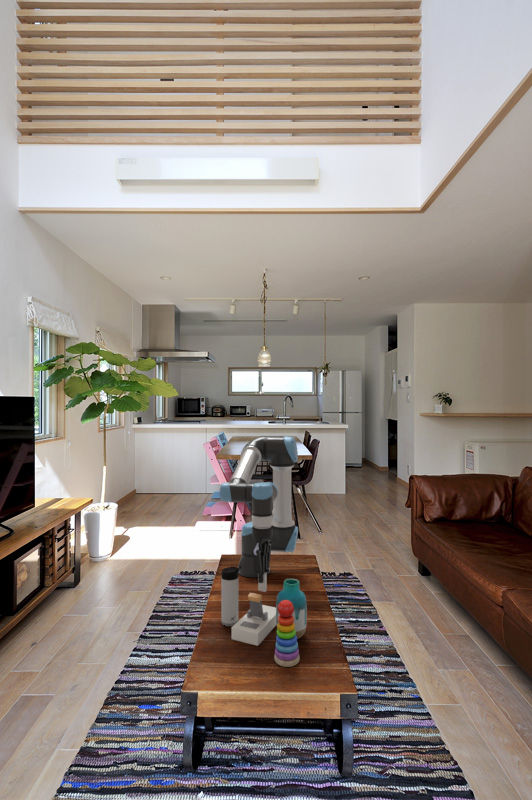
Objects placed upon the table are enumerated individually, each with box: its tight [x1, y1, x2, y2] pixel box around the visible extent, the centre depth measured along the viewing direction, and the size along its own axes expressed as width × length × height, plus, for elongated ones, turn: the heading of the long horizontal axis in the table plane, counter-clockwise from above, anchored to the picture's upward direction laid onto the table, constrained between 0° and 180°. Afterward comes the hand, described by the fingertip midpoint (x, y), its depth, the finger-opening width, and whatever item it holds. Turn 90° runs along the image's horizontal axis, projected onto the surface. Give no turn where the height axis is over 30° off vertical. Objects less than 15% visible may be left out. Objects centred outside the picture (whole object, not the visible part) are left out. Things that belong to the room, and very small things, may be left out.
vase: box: [275, 578, 308, 640], centre depth 157 cm, size 11×11×19 cm
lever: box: [247, 592, 263, 618], centre depth 161 cm, size 2×4×9 cm, turn 65°
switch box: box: [231, 604, 277, 647], centre depth 162 cm, size 20×10×6 cm, turn 155°
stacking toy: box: [273, 600, 301, 668], centre depth 143 cm, size 8×8×19 cm
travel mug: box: [220, 566, 240, 627], centre depth 167 cm, size 6×7×20 cm
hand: (262, 590), depth 166 cm, fingers closed
